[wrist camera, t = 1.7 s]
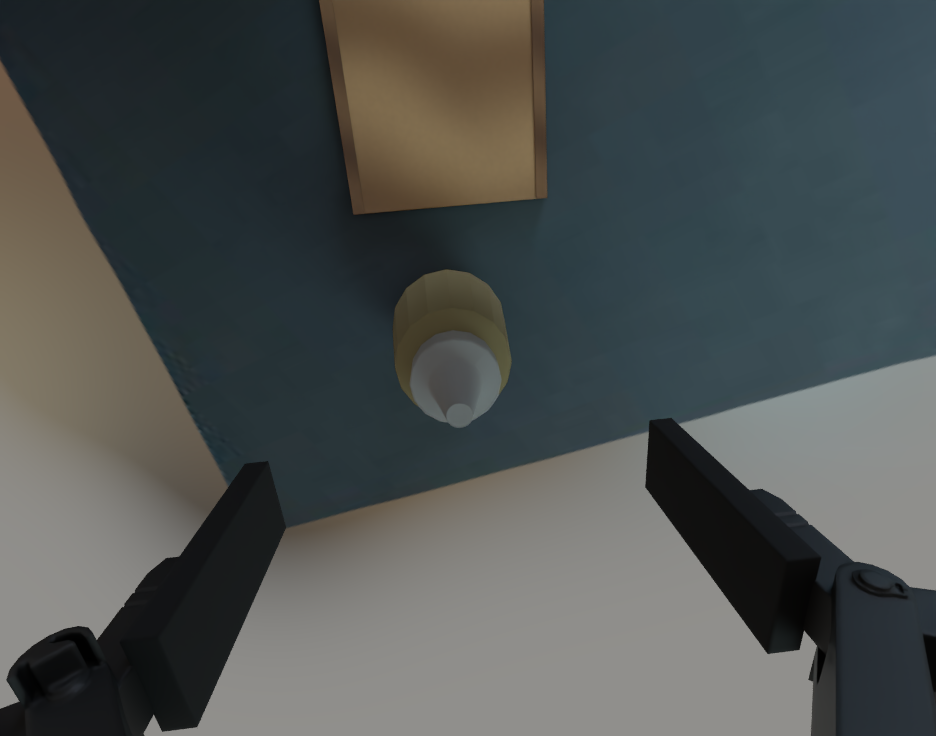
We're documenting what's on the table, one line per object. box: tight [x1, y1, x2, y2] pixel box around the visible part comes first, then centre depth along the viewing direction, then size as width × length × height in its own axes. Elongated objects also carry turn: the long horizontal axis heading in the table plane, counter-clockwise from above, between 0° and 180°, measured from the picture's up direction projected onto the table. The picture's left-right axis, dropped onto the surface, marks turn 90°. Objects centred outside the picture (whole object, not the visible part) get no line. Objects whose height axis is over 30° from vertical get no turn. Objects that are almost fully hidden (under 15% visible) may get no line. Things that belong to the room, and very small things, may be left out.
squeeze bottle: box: [393, 269, 512, 428], centre depth 28 cm, size 8×8×18 cm
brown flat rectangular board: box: [319, 0, 547, 215], centre depth 30 cm, size 20×14×1 cm
